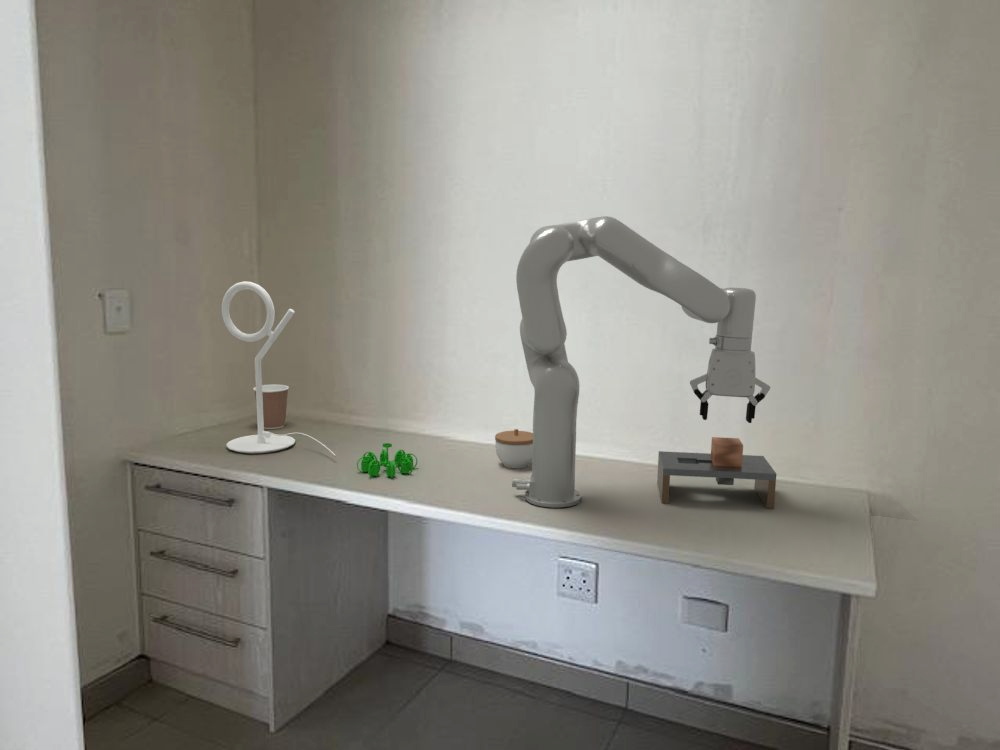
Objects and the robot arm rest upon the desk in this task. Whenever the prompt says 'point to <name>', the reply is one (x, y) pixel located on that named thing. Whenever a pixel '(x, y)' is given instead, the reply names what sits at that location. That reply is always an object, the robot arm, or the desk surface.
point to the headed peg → (726, 455)
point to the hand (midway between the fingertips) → (726, 420)
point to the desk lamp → (258, 372)
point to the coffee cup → (274, 405)
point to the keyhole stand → (716, 472)
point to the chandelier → (387, 462)
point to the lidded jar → (514, 448)
